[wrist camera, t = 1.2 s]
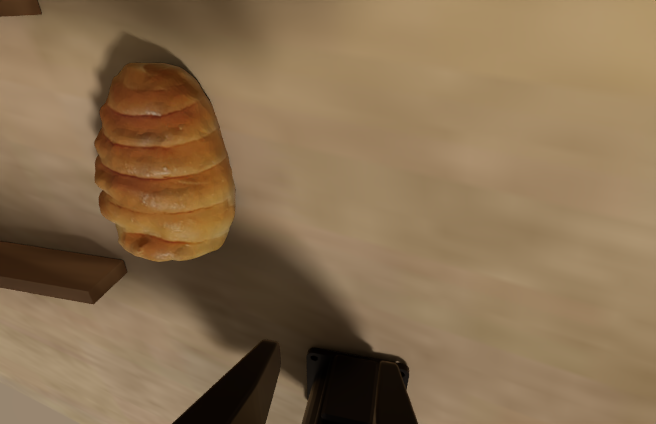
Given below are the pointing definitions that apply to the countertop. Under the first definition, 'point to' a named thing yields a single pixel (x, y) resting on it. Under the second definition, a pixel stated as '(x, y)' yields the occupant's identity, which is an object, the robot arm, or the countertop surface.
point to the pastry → (163, 165)
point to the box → (48, 264)
